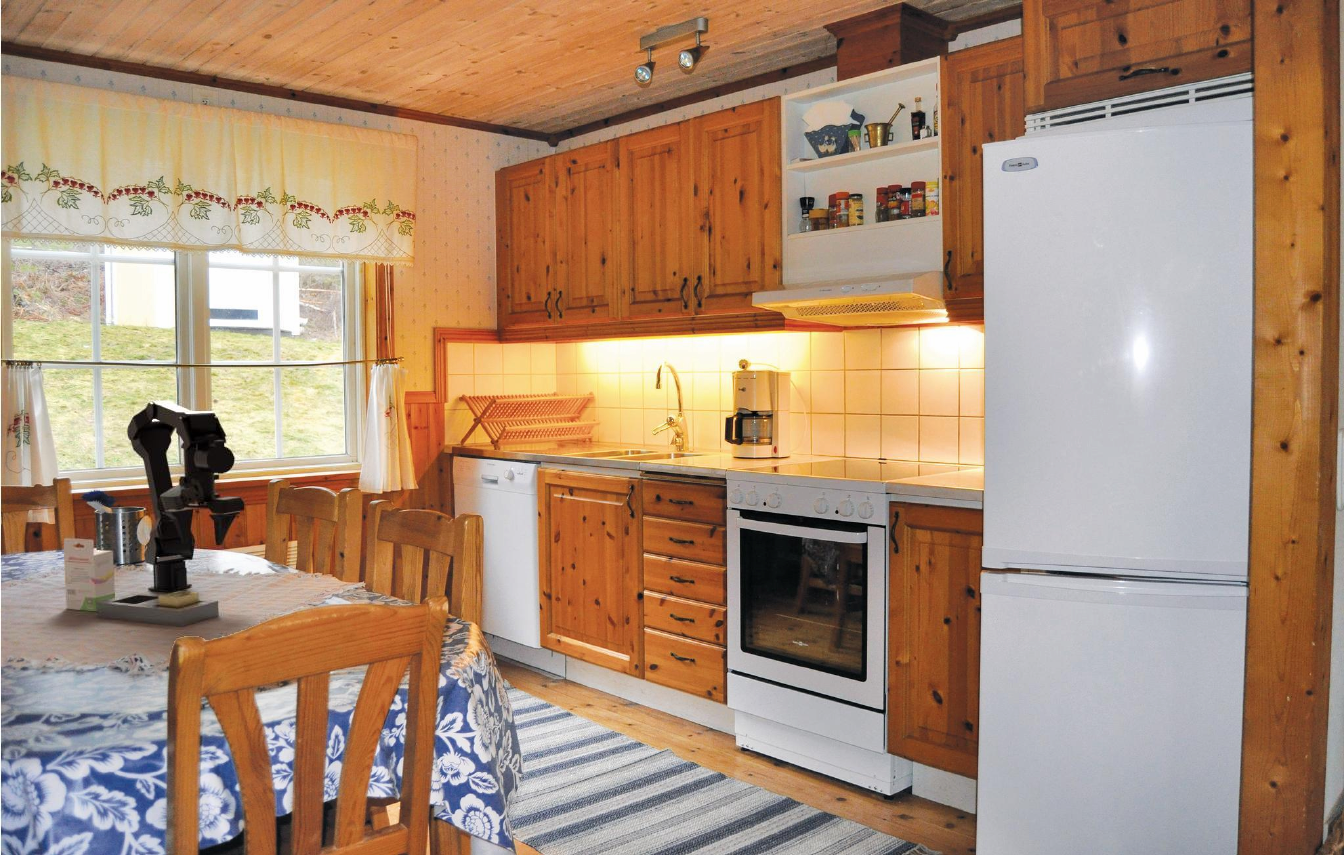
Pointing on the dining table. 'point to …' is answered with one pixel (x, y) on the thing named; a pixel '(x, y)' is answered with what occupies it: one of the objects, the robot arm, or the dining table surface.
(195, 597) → the natural wood cube
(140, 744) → the dining table surface
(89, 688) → the dining table surface
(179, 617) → the grey flat block
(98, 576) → the ink box
